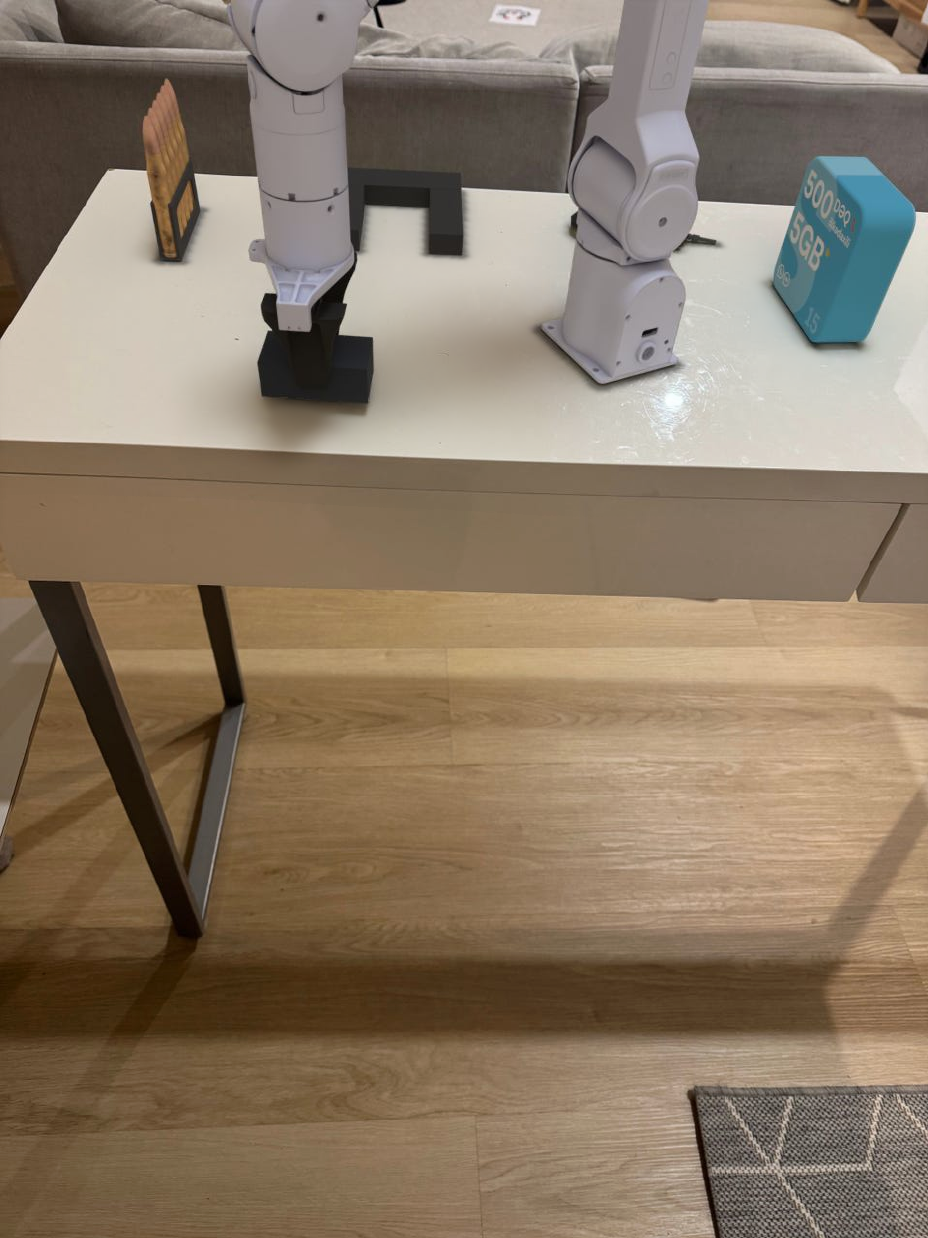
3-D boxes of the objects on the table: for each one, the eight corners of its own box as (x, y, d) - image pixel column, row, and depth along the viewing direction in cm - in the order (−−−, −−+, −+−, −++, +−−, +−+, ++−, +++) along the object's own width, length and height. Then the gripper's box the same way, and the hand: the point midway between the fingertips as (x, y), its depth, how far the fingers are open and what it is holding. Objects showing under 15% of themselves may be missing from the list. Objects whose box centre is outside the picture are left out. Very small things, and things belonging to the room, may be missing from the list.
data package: (769, 281, 87) (811, 149, 78) (813, 280, 87) (861, 150, 78) (814, 349, 79) (868, 212, 70) (863, 349, 79) (923, 212, 70)
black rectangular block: (373, 370, 71) (373, 336, 69) (368, 403, 68) (367, 369, 66) (271, 364, 71) (267, 329, 68) (261, 397, 68) (256, 361, 66)
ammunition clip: (181, 208, 90) (158, 73, 81) (200, 209, 90) (179, 75, 81) (160, 260, 83) (131, 119, 74) (181, 261, 83) (154, 120, 74)
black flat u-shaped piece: (462, 255, 87) (463, 234, 85) (325, 249, 86) (324, 228, 84) (459, 192, 96) (460, 172, 94) (336, 186, 95) (335, 166, 94)
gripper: (261, 134, 63) (280, 313, 73) (217, 230, 53) (246, 421, 63) (363, 141, 63) (368, 319, 73) (336, 238, 53) (346, 427, 63)
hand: (317, 367), depth 68 cm, fingers closed on black rectangular block, 4 cm apart
